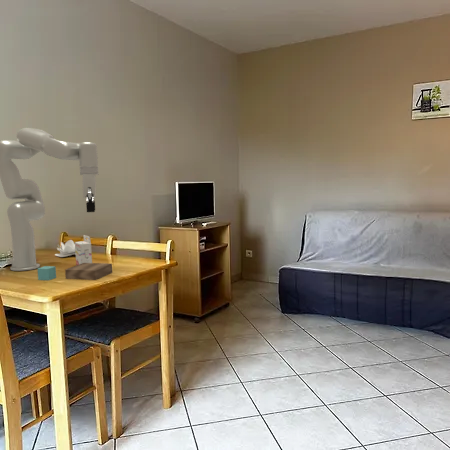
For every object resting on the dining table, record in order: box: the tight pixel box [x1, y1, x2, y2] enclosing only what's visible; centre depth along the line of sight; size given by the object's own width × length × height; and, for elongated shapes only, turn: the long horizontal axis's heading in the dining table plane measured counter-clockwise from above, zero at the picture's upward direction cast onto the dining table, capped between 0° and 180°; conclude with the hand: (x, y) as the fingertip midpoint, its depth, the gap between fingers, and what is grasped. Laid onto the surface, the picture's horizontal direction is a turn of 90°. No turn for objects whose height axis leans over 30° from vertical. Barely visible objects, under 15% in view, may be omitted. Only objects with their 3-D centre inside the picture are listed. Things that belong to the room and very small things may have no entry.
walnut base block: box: [64, 262, 113, 281], centre depth 177 cm, size 14×14×4 cm
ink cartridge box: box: [74, 234, 93, 266], centre depth 196 cm, size 9×5×15 cm, turn 41°
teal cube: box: [37, 265, 57, 281], centre depth 173 cm, size 5×5×5 cm
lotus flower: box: [54, 239, 76, 258], centre depth 226 cm, size 14×15×9 cm
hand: (91, 211), depth 178 cm, fingers open, 9 cm apart
